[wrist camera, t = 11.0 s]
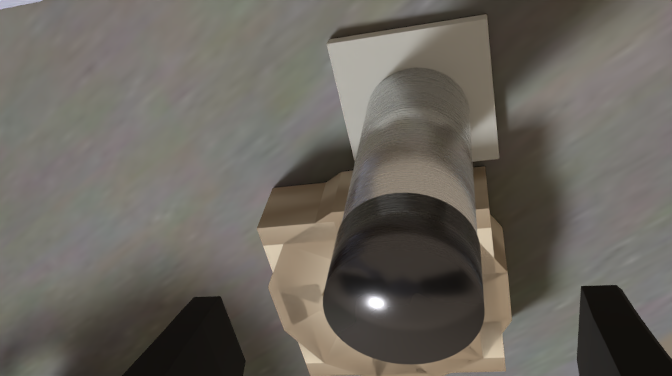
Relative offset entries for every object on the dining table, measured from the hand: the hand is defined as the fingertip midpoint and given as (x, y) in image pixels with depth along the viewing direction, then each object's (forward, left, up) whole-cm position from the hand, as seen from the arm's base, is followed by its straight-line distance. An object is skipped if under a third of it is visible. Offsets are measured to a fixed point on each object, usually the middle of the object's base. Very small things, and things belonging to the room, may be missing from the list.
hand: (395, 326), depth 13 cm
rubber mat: (0, 0, -10) cm, 10 cm away
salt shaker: (0, 0, -10) cm, 10 cm away
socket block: (+7, -2, -10) cm, 13 cm away
